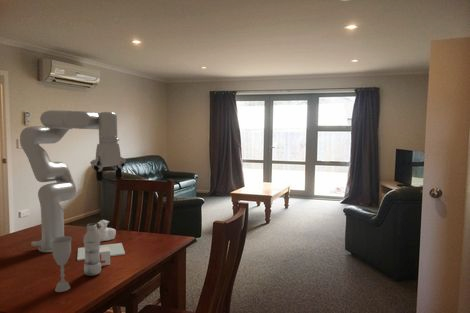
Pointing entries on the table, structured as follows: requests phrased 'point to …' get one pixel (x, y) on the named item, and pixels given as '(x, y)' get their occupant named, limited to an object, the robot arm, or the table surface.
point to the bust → (105, 231)
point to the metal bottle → (92, 251)
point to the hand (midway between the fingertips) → (109, 179)
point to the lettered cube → (104, 256)
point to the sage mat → (114, 248)
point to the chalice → (61, 258)
